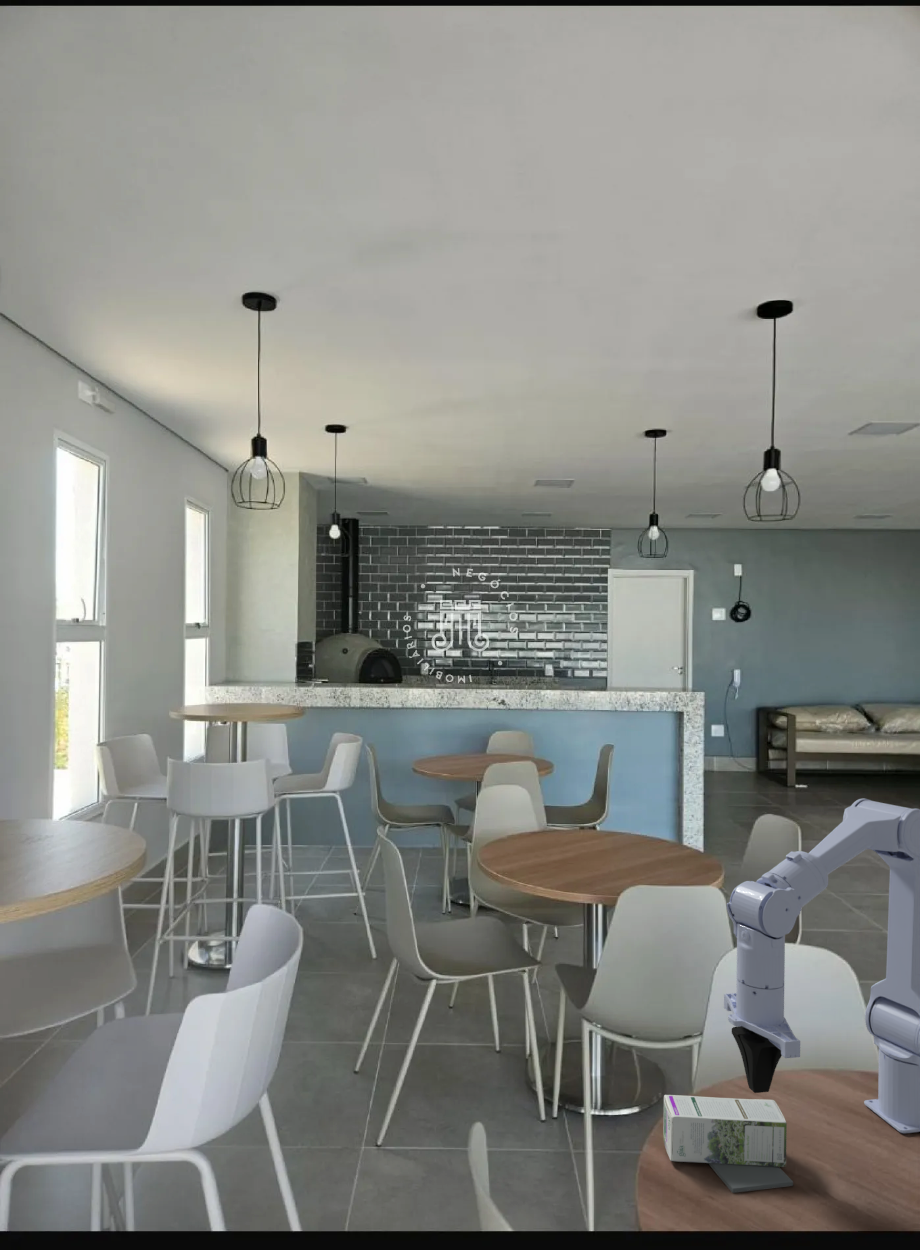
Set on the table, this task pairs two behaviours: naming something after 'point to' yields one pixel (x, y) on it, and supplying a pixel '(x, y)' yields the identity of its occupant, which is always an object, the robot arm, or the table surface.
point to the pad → (751, 1177)
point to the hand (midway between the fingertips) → (758, 1089)
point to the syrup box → (724, 1130)
